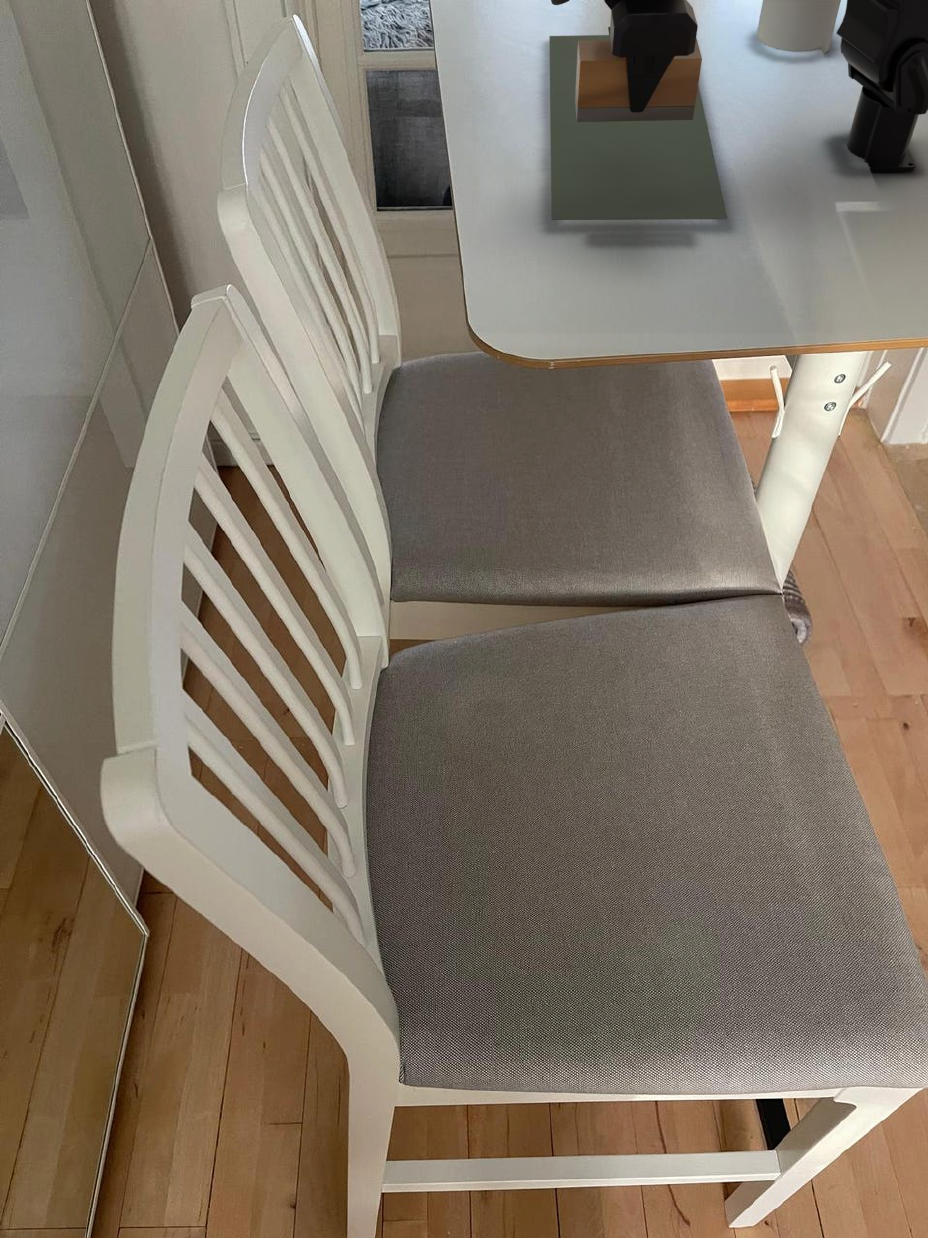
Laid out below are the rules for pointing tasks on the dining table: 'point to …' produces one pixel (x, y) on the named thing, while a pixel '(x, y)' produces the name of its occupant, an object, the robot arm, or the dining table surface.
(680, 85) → the eraser
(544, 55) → the dining table surface
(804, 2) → the cup
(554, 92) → the chalkboard
